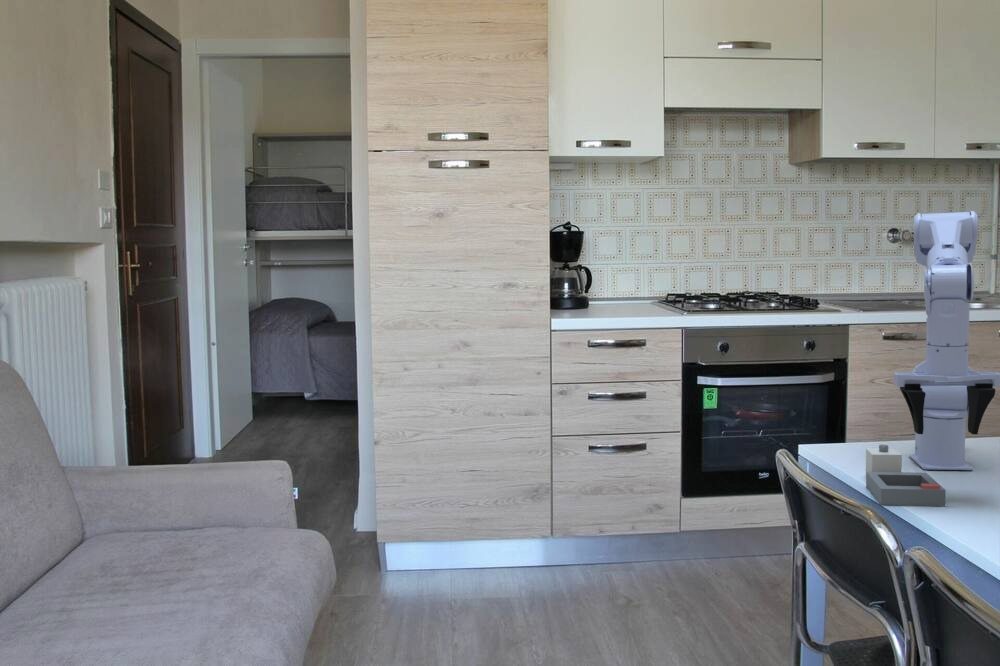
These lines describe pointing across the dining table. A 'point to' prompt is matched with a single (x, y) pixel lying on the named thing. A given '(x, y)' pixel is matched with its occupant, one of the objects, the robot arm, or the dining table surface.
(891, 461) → the plug
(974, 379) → the robot arm
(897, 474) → the socket plate
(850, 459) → the dining table surface
